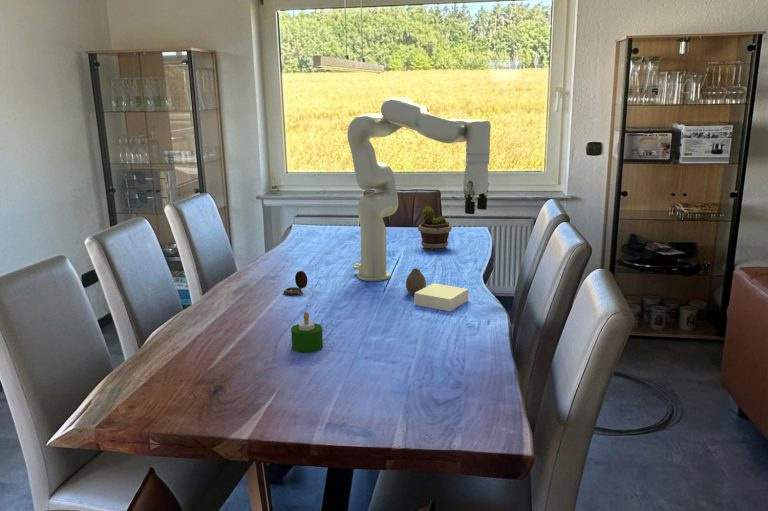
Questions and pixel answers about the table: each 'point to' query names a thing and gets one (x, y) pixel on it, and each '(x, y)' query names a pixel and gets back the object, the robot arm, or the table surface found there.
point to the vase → (415, 281)
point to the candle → (307, 336)
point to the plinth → (441, 297)
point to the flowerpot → (434, 231)
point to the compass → (300, 282)
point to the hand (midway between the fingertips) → (475, 211)
